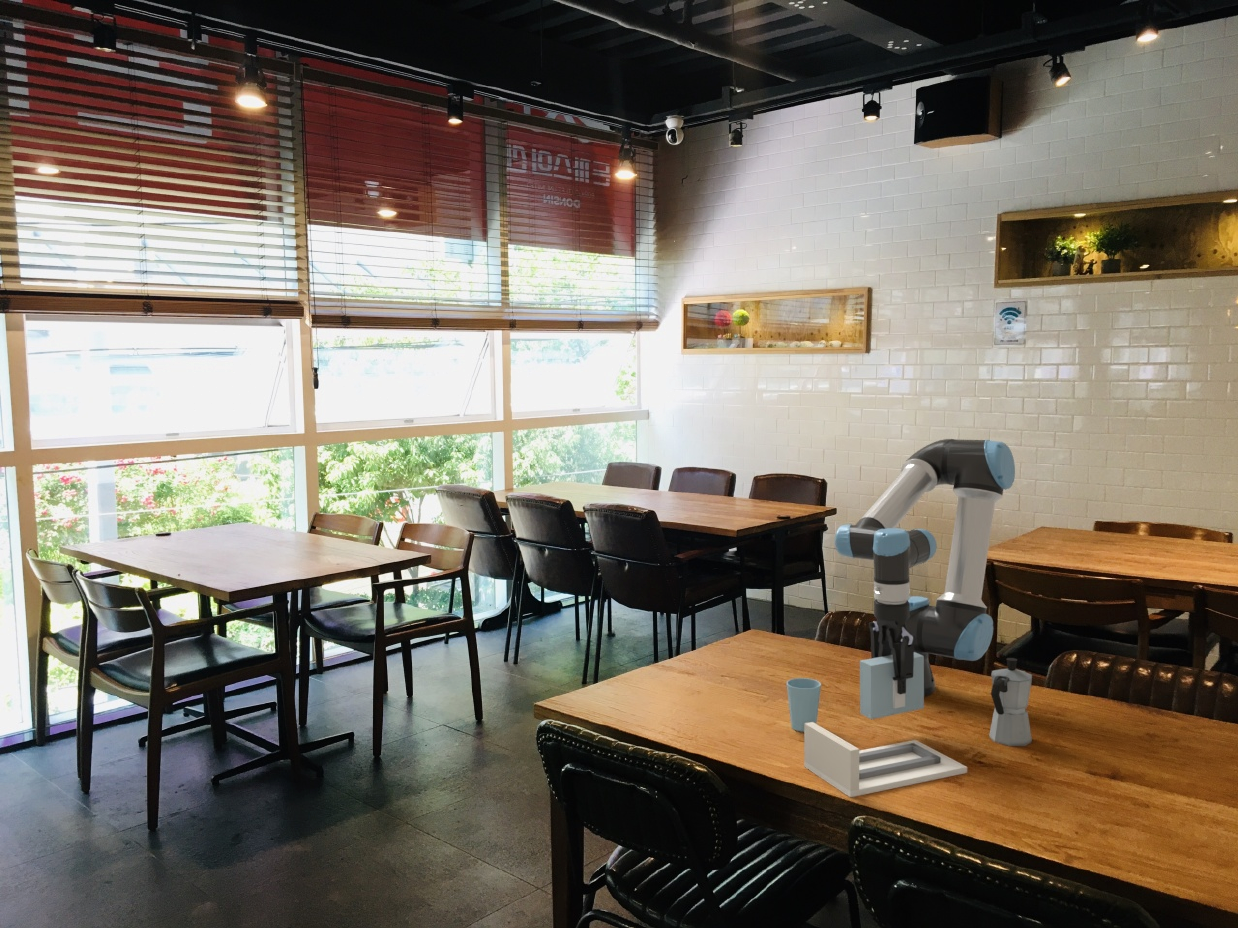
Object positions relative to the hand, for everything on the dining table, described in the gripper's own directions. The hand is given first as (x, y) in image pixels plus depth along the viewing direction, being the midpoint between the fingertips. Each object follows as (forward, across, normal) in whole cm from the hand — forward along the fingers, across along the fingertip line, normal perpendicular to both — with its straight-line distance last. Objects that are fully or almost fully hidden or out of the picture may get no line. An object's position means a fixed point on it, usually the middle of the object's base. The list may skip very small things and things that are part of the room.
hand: (892, 703), depth 219 cm
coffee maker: (+8, +12, +21) cm, 26 cm away
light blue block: (+2, 0, 0) cm, 2 cm away
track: (+7, +14, -13) cm, 21 cm away
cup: (+8, -13, -15) cm, 21 cm away
